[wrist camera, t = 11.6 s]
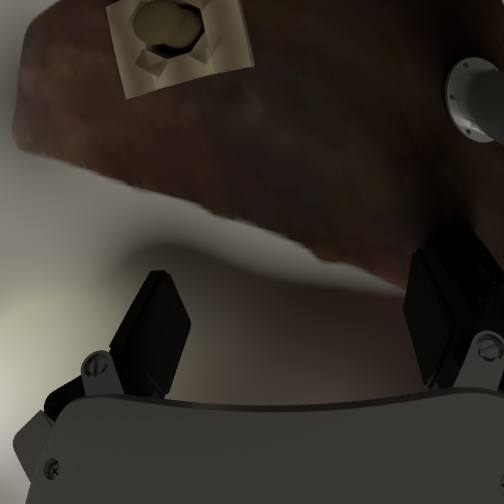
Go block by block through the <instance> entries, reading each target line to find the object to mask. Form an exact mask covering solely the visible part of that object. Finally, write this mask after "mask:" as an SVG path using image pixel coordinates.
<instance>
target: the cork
mask: <svg viewBox="0 0 504 504" xmlns="http://www.w3.org/2000/svg"><path fill="white" fill-rule="evenodd" d="M133 29H134V33H135V35H136V36H137V38H139V39H140V40H141V41H143V42H144V43H147V44H151V45H156V44H163V43H164V44H166V45H168V46H170V47H172V48H174V49H176V50H179V51H191V50H193V48H194V47H195V45H196V44H197V42H198V41H199V39H200V38H201V36H202V35H203V33H204V32H205V27H204V23H203V18H202V14H201V12H198V11H194V10H188V9H181V8H180V7H179V6H178V5H177V4H175V3H174V2H172V1H169V0H154V1H151V2H149V3H147V4H145V5H144V6H143V7H141V8H140V10H139V11H138V12H137V13H136V16H135V18H134V21H133Z"/></svg>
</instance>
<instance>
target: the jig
mask: <svg viewBox="0 0 504 504" xmlns="http://www.w3.org/2000/svg"><path fill="white" fill-rule="evenodd" d="M151 1H154V0H119V1H117V2H115V3H113V4H111V5H109V6H107V7H106V10H107V16H108V21H109V26H110V31H111V36H112V41H113V45H114V50H115V54H116V59H117V63H118V67H119V72H120V76H121V80H122V84H123V88H124V92H125V96H126V99H129V98H132V97H136V96H140V95H143V94H146V93H149V92H152V91H155V90H158V89H161V88H164V87H168V86H171V85H174V84H178V83H182V82H185V81H189V80H193V79H196V78H200V77H204V76H209V75H213V74H217V73H222V72H226V71H231V70H236V69H241V68H247V67H253V66H255V62H254V57H253V52H252V47H251V43H250V38H249V33H248V29H247V24H246V20H245V15H244V11H243V6H242V2H241V0H169V1H172V2H174V3H175V4H177V5H178V6H179V7H184V6H187V5H191V6H193V7H195V8H198V9H200V10H201V14H202V18H203V23H204V27H205V32H204V33H203V35H202V36H201V38H200V39H199V41H198V42H197V44H196V45H195V47H194V48H193V50H192V51H191V52H190V53H187V54H183V55H180V56H176V57H171V56H169V55H167V54H165V53H163V52H161V51H159V47H158V44H156V45H151V44H147V43H144V42H143V41H141V40H140V39H139V38H137V36H136V35H135V33H134V29H133V21H134V18H135V16H136V13H137V12H138V11H139V10H140V8H141V7H143V6H144V5H145V4H147V3H149V2H151Z"/></svg>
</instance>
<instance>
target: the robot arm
mask: <svg viewBox="0 0 504 504" xmlns="http://www.w3.org/2000/svg"><path fill="white" fill-rule="evenodd" d="M463 64H464V66H463ZM450 96H451V97H450ZM445 102H446V107H447V110H448V114H449V116H450V118H451V120H452V122H453V123H454V125H455V126H456V128H457V129H458V130H459V131H460V132H461V133H462V134H463V135H465V136H466V137H468V138H470V139H472V140H474V141H477V142H490V141H493V140H496V141H497V142H499V143H501V144H503V145H504V72H502V71H499V70H498V69H497V68H496V67H495V66H494V65H493V64H492V63H490V62H488V61H487V60H484V59H481V58H476V57H467V58H464V59H461V60H460V61H458V62H457V63H455V65H454V66H453V67H452V68H451V70H450V72H449V73H448V76H447V79H446V83H445ZM403 312H404V316H405V319H406V323H407V326H408V329H409V332H410V336H411V339H412V342H413V345H414V349H415V353H416V357H417V360H418V364H419V368H420V372H421V376H422V380H423V383H424V385H428V387H429V391H424V392H418V393H413V394H406V395H399V396H393V397H385V398H377V399H369V400H360V401H351V402H341V403H340V402H339V403H328V404H327V403H325V404H307V405H230V404H213V403H198V402H187V401H177V400H169V399H164V397H165V394H168V393H169V391H170V388H171V385H172V382H173V379H174V376H175V373H176V369H177V367H178V364H179V361H180V358H181V355H182V352H183V349H184V346H185V343H186V340H187V337H188V334H189V331H190V328H191V321H190V318H189V316H188V314H187V312H186V309H185V307H184V305H183V303H182V300H181V298H180V296H179V294H178V291H177V289H176V287H175V285H174V282H173V279H172V277H171V275H170V274H167V272H166V271H164V270H160V271H151V272H150V273H149V275H148V276H147V278H146V280H145V281H144V283H143V285H142V287H141V288H140V290H139V292H138V294H137V295H136V297H135V299H134V301H133V303H132V304H131V306H130V308H129V310H128V312H127V314H126V315H125V317H124V319H123V321H122V323H121V325H120V326H119V328H118V330H117V332H116V334H115V336H114V338H113V340H112V342H111V343H110V345H109V347H110V348H111V349H110V351H109V353H108V352H107V351H103V350H100V351H96V352H93V353H92V354H90V355H89V356H88V357H87V358H86V359H85V360H84V362H83V363H82V366H81V375H80V376H78V377H77V378H75V379H74V380H72V381H70V382H68V383H67V384H65V385H63V386H61V387H60V388H58V389H56V390H55V391H53V392H52V393H50V394H49V396H48V397H47V398H46V401H45V404H44V411H41V410H40V411H39V412H38V413H37V414H36V415H35V416H34V417H33V418H32V419H31V420H30V421H29V422H28V423H27V424H26V425H25V426H24V427H23V428H21V429H20V431H18V432H17V434H16V435H15V437H14V440H13V448H14V451H15V453H16V455H17V457H18V459H19V461H20V463H21V465H22V467H23V469H24V471H25V473H26V475H27V477H28V479H29V480H30V482H31V485H30V488H29V492H28V495H27V499H26V504H504V339H503V338H502V337H501V336H500V335H499V334H497V333H495V332H492V331H482V332H480V331H479V329H478V326H477V324H476V322H475V320H474V318H473V316H472V314H471V312H470V310H469V308H468V306H467V304H466V302H465V300H464V298H463V296H462V294H461V292H460V290H459V289H458V287H457V285H456V283H455V282H454V281H453V280H451V279H450V277H449V276H448V274H447V272H446V270H445V269H444V267H443V265H442V263H441V262H440V260H439V258H438V257H437V255H436V253H435V252H434V250H433V249H432V248H421V249H417V251H416V253H413V254H412V259H411V266H410V272H409V278H408V284H407V290H406V295H405V300H404V306H403Z"/></svg>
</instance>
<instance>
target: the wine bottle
mask: <svg viewBox="0 0 504 504" xmlns="http://www.w3.org/2000/svg"><path fill="white" fill-rule="evenodd" d="M428 248H432V249H433V250H434V252H435V253H436V255H437V257H438V258H439V260H440V262H441V263H442V265H443V267H444V269H445V270H446V272H447V274H448V276H449V277H450V279H451V280H453V281H454V282H455V283H456V285H457V287H458V289H459V290H460V292H461V294H462V296H463V298H464V300H465V302H466V304H467V306H468V308H469V310H470V312H471V314H472V316H473V318H474V320H475V322H476V324H477V326H478V329H479V331H480V332H482V331H492V332H495V333H497V334H499V335H500V336H501V337H502V338H503V339H504V272H503V270H502V269H501V267H500V266H499V264H498V263H497V261H496V260H495V259H494V257H493V256H492V254H491V253H490V252H489V250H488V249H487V248H486V246H485V245H484V244H483V242H482V241H481V240H480V238H479V237H478V236H477V235H476V234H475V232H474V231H473V230H472V229H471V228H469V227H468V226H466V225H462V224H453V225H449V226H447V227H445V228H443V229H442V230H440V231H439V232H438V233H437V234H436V235H435V236H434V237H433V238H432V240H431V242H430V243H429V245H428Z"/></svg>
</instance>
